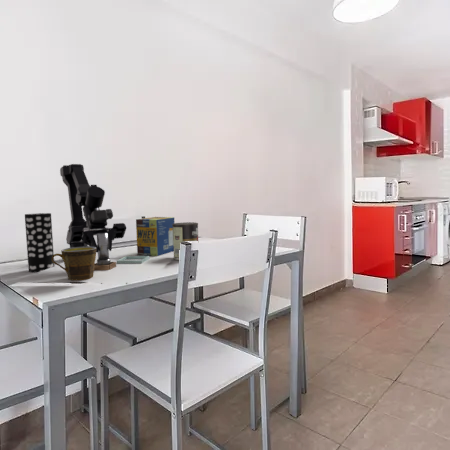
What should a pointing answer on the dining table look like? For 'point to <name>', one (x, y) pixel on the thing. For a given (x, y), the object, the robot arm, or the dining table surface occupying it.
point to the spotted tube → (39, 241)
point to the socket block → (105, 266)
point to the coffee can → (183, 235)
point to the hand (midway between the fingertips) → (104, 250)
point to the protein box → (154, 236)
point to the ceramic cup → (78, 263)
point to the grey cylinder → (103, 249)
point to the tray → (123, 260)
